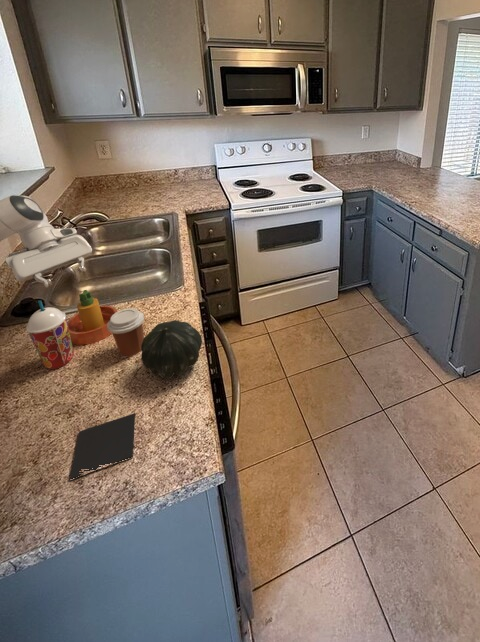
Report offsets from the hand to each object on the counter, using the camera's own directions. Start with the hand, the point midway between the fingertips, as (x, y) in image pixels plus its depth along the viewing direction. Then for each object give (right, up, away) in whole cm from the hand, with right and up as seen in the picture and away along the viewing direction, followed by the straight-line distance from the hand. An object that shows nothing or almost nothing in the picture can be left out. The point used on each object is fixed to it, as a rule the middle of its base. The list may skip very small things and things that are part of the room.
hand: (66, 278), depth 109 cm
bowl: (+8, -16, +1) cm, 18 cm away
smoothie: (+6, -21, -11) cm, 25 cm away
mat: (+32, -29, -33) cm, 55 cm away
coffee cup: (+24, -19, -7) cm, 32 cm away
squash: (+39, -21, -12) cm, 46 cm away
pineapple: (+8, -16, 0) cm, 18 cm away
